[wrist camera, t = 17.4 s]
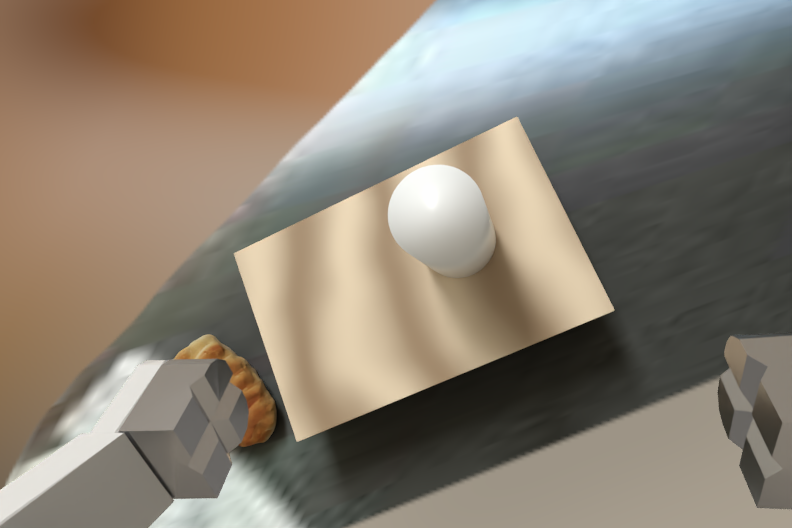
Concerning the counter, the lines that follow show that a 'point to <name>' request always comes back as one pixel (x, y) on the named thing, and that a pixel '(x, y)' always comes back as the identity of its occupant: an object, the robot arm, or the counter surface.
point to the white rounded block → (442, 221)
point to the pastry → (240, 386)
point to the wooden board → (414, 290)
